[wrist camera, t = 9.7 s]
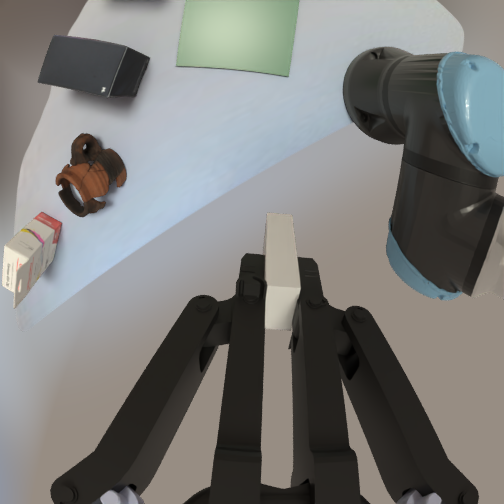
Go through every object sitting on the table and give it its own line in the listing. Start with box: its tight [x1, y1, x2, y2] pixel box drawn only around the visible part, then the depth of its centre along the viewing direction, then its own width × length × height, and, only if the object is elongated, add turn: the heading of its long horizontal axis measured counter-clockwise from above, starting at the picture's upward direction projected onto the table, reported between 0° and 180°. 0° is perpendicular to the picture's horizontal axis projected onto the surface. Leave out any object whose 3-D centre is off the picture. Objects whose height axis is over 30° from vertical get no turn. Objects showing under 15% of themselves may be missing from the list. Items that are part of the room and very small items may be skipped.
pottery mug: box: [56, 133, 126, 217], centre depth 37 cm, size 12×10×8 cm
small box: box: [38, 35, 150, 98], centre depth 28 cm, size 11×6×10 cm, turn 67°
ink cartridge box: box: [2, 212, 62, 309], centre depth 37 cm, size 9×5×15 cm, turn 148°
